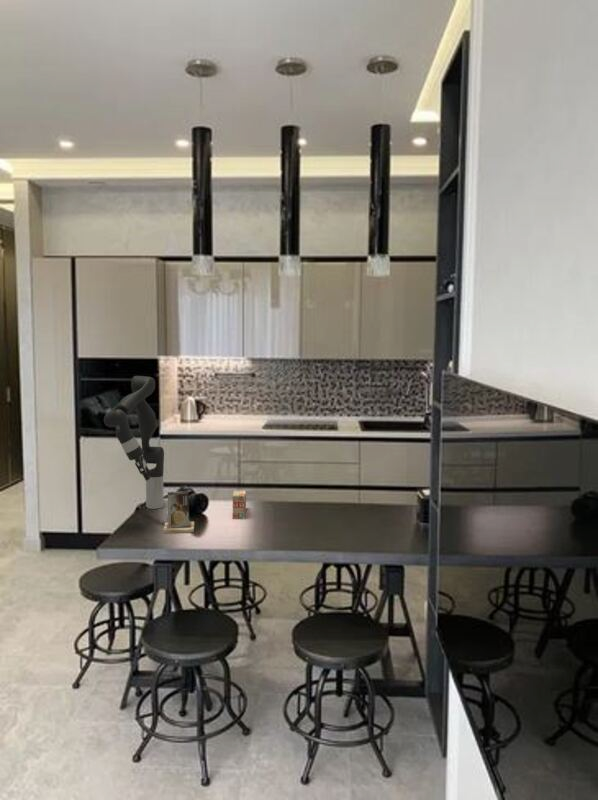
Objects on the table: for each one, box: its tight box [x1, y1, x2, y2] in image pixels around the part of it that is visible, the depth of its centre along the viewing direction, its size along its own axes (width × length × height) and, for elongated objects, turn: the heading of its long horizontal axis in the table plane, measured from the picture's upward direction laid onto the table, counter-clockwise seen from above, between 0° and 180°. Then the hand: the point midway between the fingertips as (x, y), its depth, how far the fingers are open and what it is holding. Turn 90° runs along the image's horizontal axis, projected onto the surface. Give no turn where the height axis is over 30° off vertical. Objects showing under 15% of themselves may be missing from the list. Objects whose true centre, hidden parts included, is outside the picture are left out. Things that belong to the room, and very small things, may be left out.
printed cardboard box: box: [232, 489, 247, 520], centre depth 324 cm, size 21×6×12 cm, turn 3°
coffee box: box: [167, 490, 190, 528], centre depth 295 cm, size 9×6×16 cm
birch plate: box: [162, 520, 195, 534], centre depth 295 cm, size 14×14×2 cm
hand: (148, 477), depth 296 cm, fingers open, 8 cm apart
